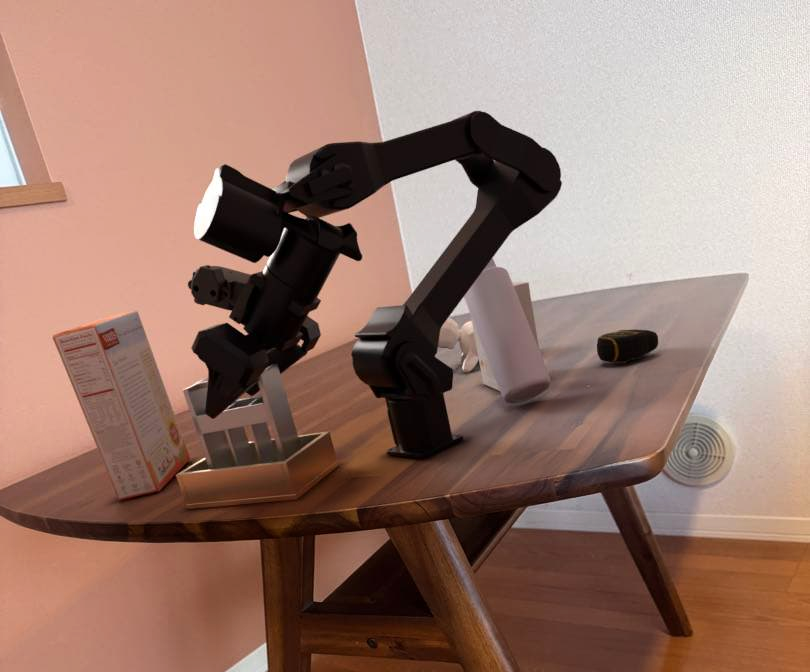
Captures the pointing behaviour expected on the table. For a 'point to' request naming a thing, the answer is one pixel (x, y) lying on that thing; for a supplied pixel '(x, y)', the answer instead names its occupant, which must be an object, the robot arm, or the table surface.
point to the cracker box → (124, 402)
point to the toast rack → (245, 424)
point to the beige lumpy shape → (466, 340)
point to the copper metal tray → (260, 476)
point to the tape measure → (626, 345)
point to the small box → (526, 304)
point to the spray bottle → (506, 336)
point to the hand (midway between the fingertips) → (230, 404)
